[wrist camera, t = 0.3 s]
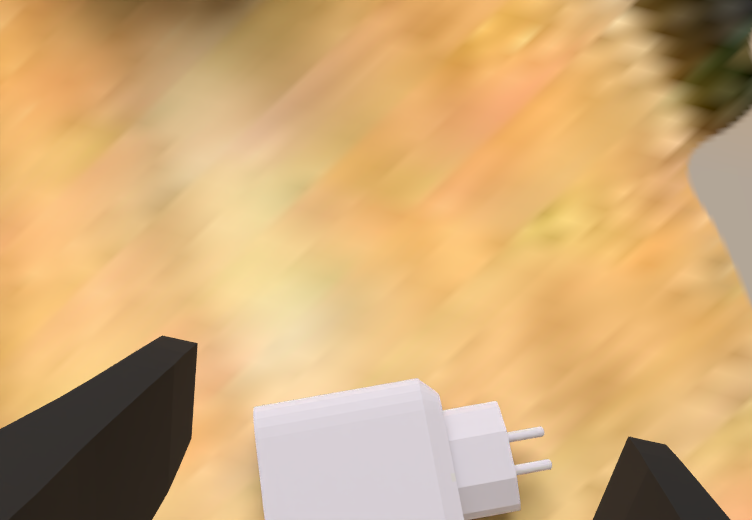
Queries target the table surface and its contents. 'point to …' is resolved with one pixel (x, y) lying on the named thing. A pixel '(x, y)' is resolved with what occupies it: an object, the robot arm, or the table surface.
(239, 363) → the table surface
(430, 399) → the charger
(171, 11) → the table surface
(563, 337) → the table surface
